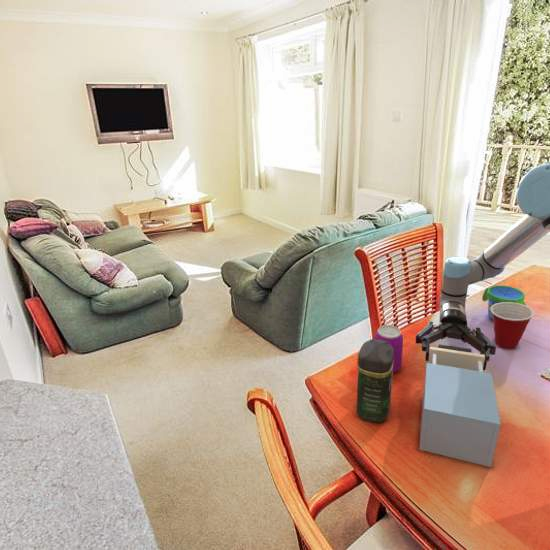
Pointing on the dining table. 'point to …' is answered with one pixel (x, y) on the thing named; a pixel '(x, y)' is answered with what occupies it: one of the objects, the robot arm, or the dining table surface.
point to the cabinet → (459, 414)
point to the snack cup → (502, 296)
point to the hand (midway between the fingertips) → (455, 361)
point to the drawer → (456, 357)
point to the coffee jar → (374, 380)
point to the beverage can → (392, 342)
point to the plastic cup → (510, 323)
